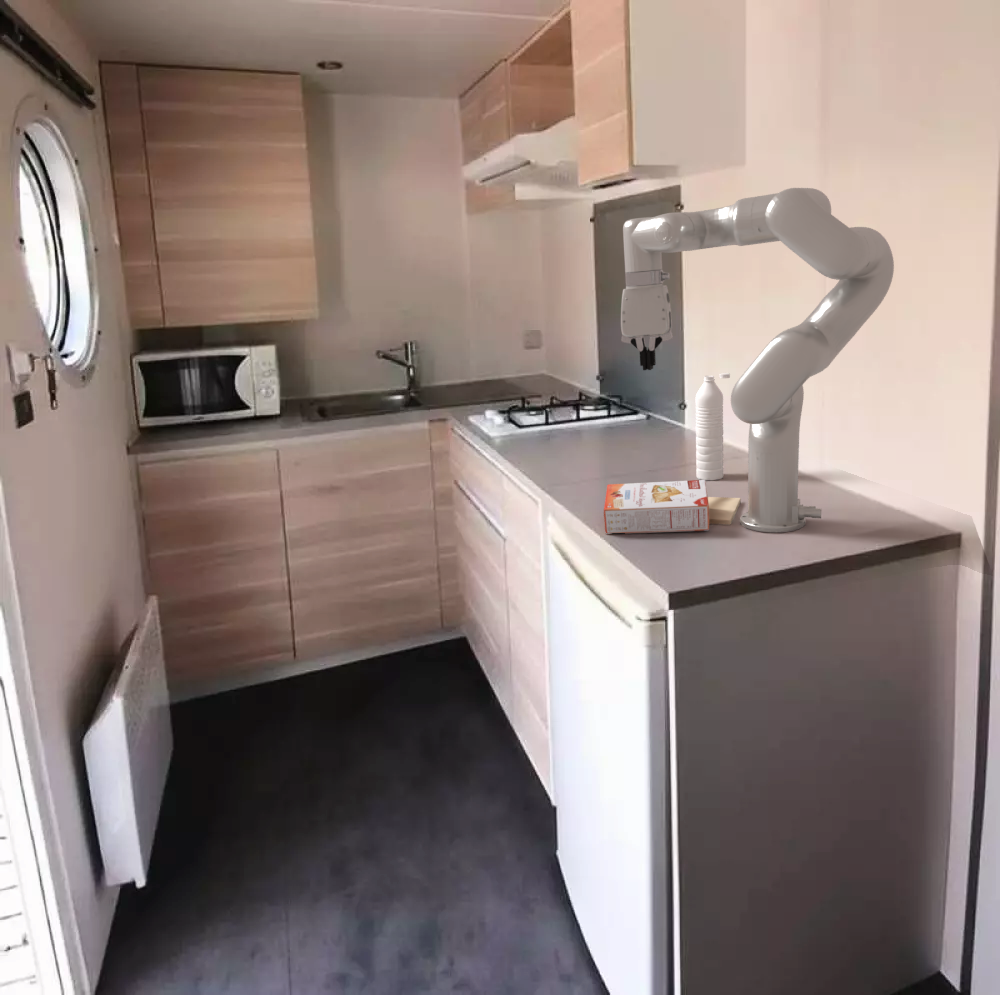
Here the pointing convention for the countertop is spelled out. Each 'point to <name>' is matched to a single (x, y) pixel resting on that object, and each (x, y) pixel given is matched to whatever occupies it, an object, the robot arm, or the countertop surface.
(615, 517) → the cracker box
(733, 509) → the cutting board
